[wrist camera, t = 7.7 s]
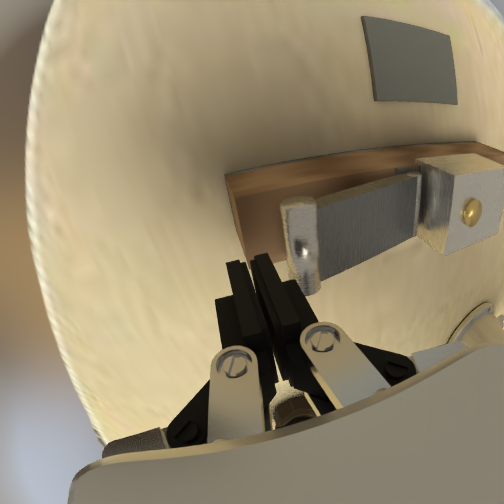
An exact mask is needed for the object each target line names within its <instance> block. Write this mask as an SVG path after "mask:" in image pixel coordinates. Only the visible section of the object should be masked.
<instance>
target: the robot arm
mask: <svg viewBox="0 0 504 504" xmlns="http://www.w3.org/2000/svg"><path fill="white" fill-rule="evenodd" d="M226 266H227V270H228V275H229V279H230V284H231V288H232V292H233V295H231V296H227V297H223V298H219V299H215V305H216V312H217V319H218V325H219V331H220V338H221V344H222V350H221V351H220V352H219V353H217V354H216V355H215V357H214V358H213V360H212V363H211V371H210V380H209V381H208V382H207V383H206V384H205V385H204V386H203V388H202V389H201V390H200V391H199V392H198V393H197V394H196V395H195V396H194V398H193V399H192V400H191V401H190V402H189V403H188V404H187V405H186V406H185V407H184V409H183V410H182V411H181V412H180V413H179V414H178V415H177V416H176V417H175V418H174V419H173V420H172V422H171V423H170V424H169V426H168V427H166V428H163V429H161V428H160V427H158V428H155V429H152V430H149V431H145V432H142V433H139V434H136V435H132V436H129V437H125V438H122V439H118V440H114V441H112V442H110V443H108V444H107V445H106V446H105V447H104V450H103V452H102V459H100V460H97V461H95V462H93V463H91V464H89V465H87V466H85V467H84V468H82V469H81V470H80V471H79V472H78V473H77V474H76V475H75V477H74V478H73V480H72V483H71V486H70V490H69V497H68V504H504V330H503V329H502V328H503V327H504V323H503V321H504V315H500V316H499V317H498V318H496V317H495V316H494V315H493V306H492V305H491V304H490V303H484V304H481V305H480V306H478V307H477V308H476V309H475V310H473V311H472V312H471V313H470V314H469V315H468V316H467V317H466V318H465V319H464V321H463V322H462V323H461V324H460V325H459V327H458V328H457V329H456V330H455V332H454V333H453V335H452V336H451V338H450V340H449V342H448V344H445V345H442V346H438V347H435V348H431V349H427V350H423V351H419V352H415V353H412V355H411V356H410V357H406V356H403V355H401V354H397V353H393V352H389V351H385V350H381V349H377V348H374V347H370V346H366V345H362V344H359V343H355V342H353V341H352V340H351V339H350V338H349V337H348V335H347V334H346V333H345V332H344V331H343V330H342V329H341V328H340V327H339V326H338V325H336V324H333V323H330V322H319V321H318V319H317V318H316V316H315V314H314V312H313V310H312V308H311V307H310V305H309V303H308V301H307V299H306V297H305V296H304V294H303V292H302V290H301V288H300V287H299V285H298V283H297V281H296V280H295V279H292V280H288V281H285V282H282V281H281V279H280V277H279V275H278V273H277V271H276V269H275V267H274V265H273V263H272V261H271V259H270V257H269V255H268V253H263V254H259V255H255V256H254V260H250V267H251V271H252V276H253V281H254V286H255V289H254V286H253V283H252V280H251V277H250V274H249V271H248V268H247V265H246V262H242V263H240V261H239V260H235V261H231V262H228V263H226ZM255 290H256V292H255ZM273 353H274V355H273ZM274 356H275V359H276V362H277V365H278V368H279V371H280V374H281V377H282V379H283V381H285V380H289V383H290V386H291V387H292V386H293V387H294V388H295V389H298V390H300V391H303V392H304V395H305V397H306V399H307V400H308V402H309V404H310V405H311V407H312V409H313V410H314V412H315V413H316V415H317V417H315V418H312V419H309V420H306V421H303V422H299V423H296V424H293V425H289V426H286V427H282V428H279V429H275V430H272V420H271V410H270V404H269V403H270V402H271V401H272V399H273V398H274V396H275V395H276V388H275V383H278V382H279V381H278V375H277V370H276V365H275V360H274Z"/></svg>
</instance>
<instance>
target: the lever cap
mask: <svg viewBox="0 0 504 504" xmlns="http://www.w3.org/2000/svg"><path fill="white" fill-rule="evenodd" d="M414 167H415V172H419V173H421V174H422V183H421V199H420V210H419V220H418V229H417V235H416V236H418V237H419V238H420V239H422V240H423V241H424V242H425V243H427V244H428V245H429V246H431V247H432V248H433V249H434V250H436V251H437V252H438V253H439V254H440V255H442V256H446V255H448V254H451V253H453V252H455V251H458V250H460V249H463V248H465V247H467V246H470V245H472V244H474V243H477V242H479V241H481V240H483V239H486V238H488V237H490V236H492V235H495V234H497V233H498V229H499V225H500V220H501V215H502V210H503V205H504V165H502V164H499V163H497V162H495V161H492V160H490V159H487V158H485V157H482V156H480V155H477V154H475V153H470V154H457V155H446V156H435V157H426V158H417V159H415V166H414Z"/></svg>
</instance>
